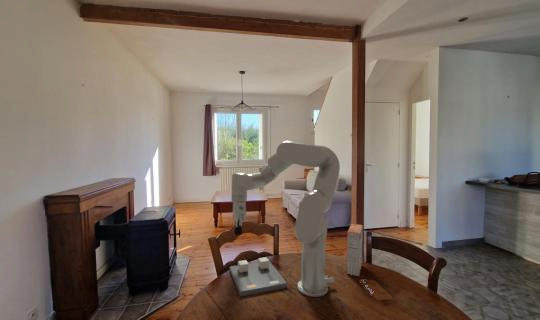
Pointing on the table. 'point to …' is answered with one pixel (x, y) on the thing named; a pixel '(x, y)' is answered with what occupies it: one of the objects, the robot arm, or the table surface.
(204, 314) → the table surface
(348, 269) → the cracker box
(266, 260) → the tab
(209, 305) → the table surface
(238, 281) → the switch panel
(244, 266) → the tab
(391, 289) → the table surface
